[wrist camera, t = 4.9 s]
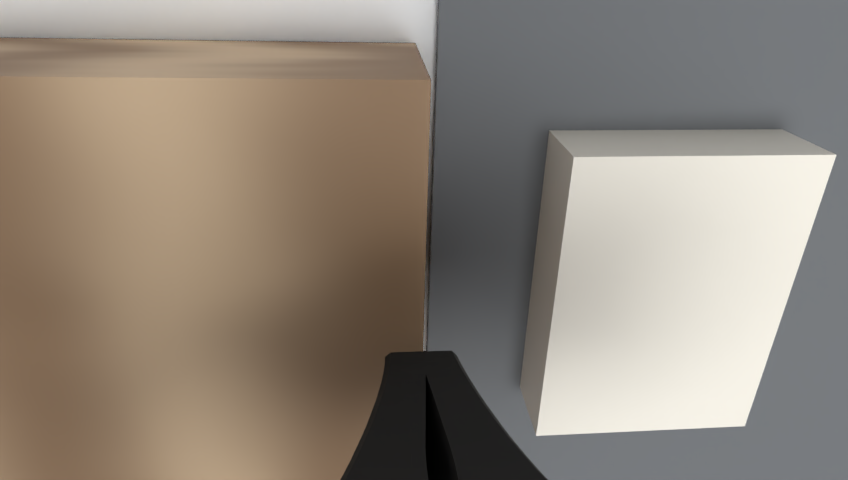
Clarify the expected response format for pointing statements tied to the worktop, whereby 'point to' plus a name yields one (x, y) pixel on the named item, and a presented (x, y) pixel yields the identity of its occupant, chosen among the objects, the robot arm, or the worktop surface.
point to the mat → (636, 110)
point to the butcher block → (205, 253)
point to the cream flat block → (663, 274)
